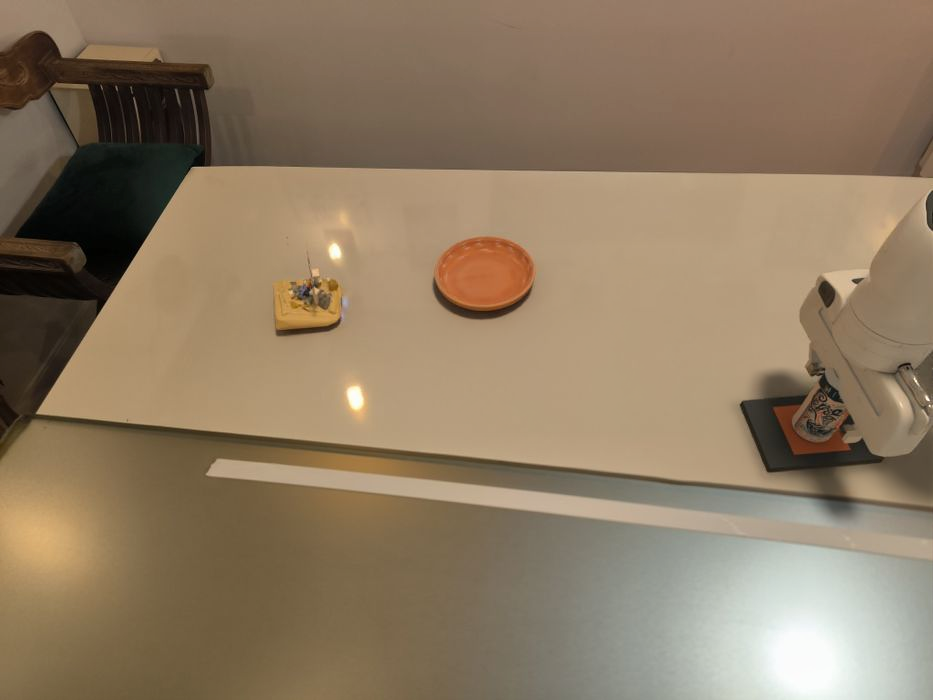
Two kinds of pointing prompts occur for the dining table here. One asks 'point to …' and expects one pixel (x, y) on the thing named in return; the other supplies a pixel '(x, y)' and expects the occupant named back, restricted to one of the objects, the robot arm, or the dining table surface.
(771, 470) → the mat
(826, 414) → the beer can
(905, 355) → the robot arm
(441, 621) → the dining table surface
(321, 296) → the cake
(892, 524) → the dining table surface
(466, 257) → the saucer
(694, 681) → the dining table surface
